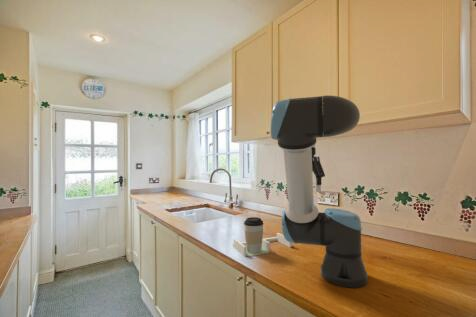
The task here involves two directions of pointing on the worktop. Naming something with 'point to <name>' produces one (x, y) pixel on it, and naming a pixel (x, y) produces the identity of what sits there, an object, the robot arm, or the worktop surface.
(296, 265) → the worktop surface
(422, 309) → the worktop surface
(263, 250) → the pad
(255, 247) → the coffee cup
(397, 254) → the worktop surface
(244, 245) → the e-shaped divided frame
